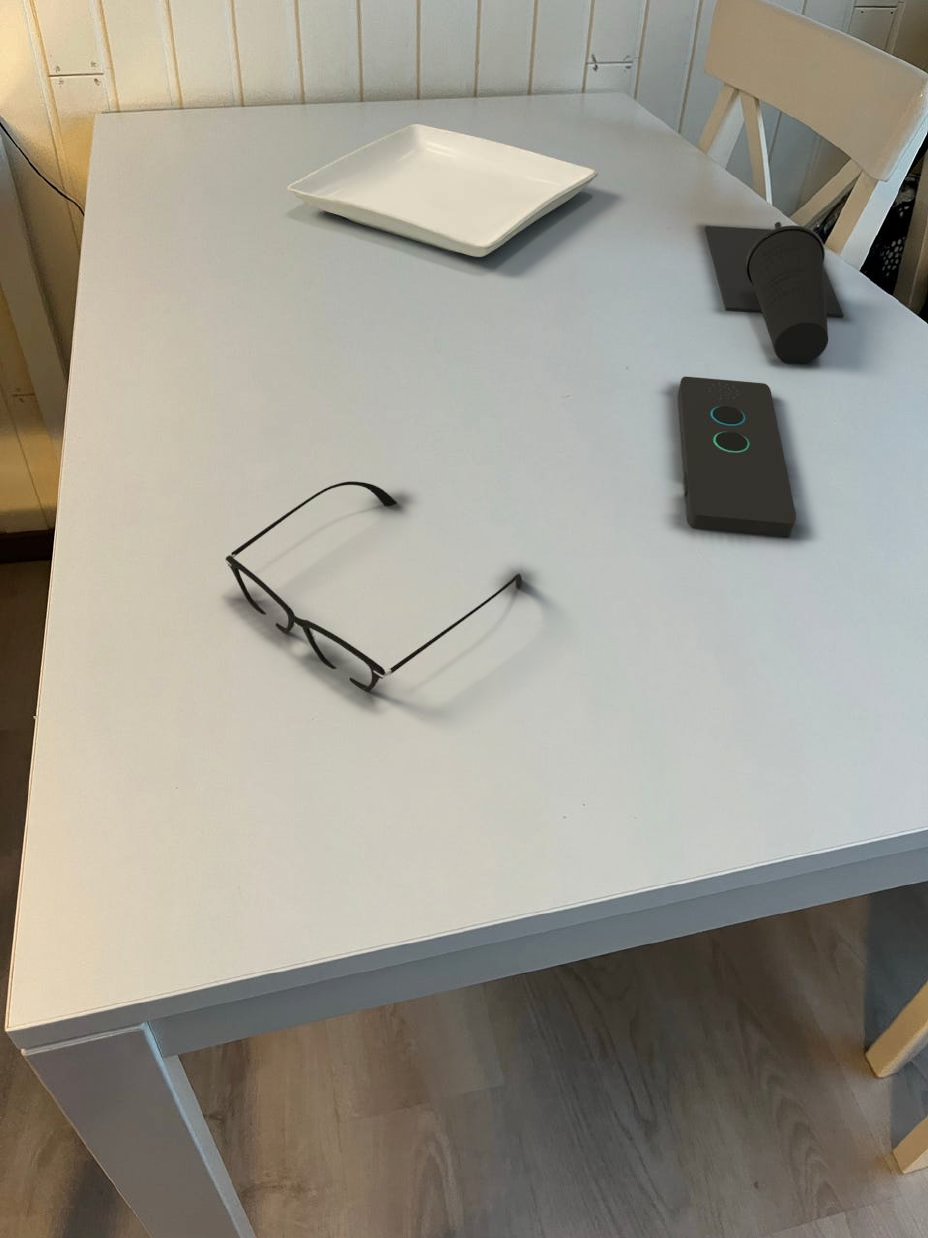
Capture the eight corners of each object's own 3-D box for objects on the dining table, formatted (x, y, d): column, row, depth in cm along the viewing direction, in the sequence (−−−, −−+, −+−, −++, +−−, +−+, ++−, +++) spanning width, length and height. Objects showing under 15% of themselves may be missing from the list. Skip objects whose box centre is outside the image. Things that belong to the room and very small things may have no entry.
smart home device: (771, 381, 86) (800, 522, 72) (766, 398, 87) (794, 540, 73) (678, 373, 86) (689, 512, 73) (675, 390, 88) (685, 529, 74)
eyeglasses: (219, 594, 67) (210, 551, 64) (379, 493, 76) (377, 452, 73) (385, 720, 60) (382, 678, 57) (541, 593, 68) (547, 551, 65)
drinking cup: (774, 304, 86) (753, 186, 98) (748, 371, 93) (731, 253, 104) (857, 313, 86) (826, 194, 98) (826, 380, 93) (801, 260, 104)
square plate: (485, 280, 102) (487, 244, 99) (285, 217, 111) (281, 183, 109) (597, 197, 118) (601, 164, 116) (414, 148, 128) (414, 117, 125)
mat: (842, 319, 98) (843, 314, 98) (725, 312, 99) (726, 307, 98) (806, 236, 112) (808, 231, 112) (704, 230, 113) (705, 225, 112)
